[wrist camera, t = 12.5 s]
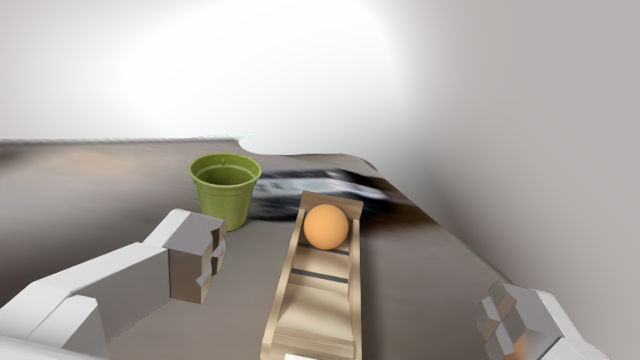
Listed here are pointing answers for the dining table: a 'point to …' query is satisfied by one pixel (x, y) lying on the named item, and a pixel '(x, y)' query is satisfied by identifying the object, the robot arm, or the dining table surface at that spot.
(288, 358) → the tee
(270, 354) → the lane
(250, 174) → the plant pot
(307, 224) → the ball
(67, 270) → the robot arm
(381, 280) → the dining table surface
